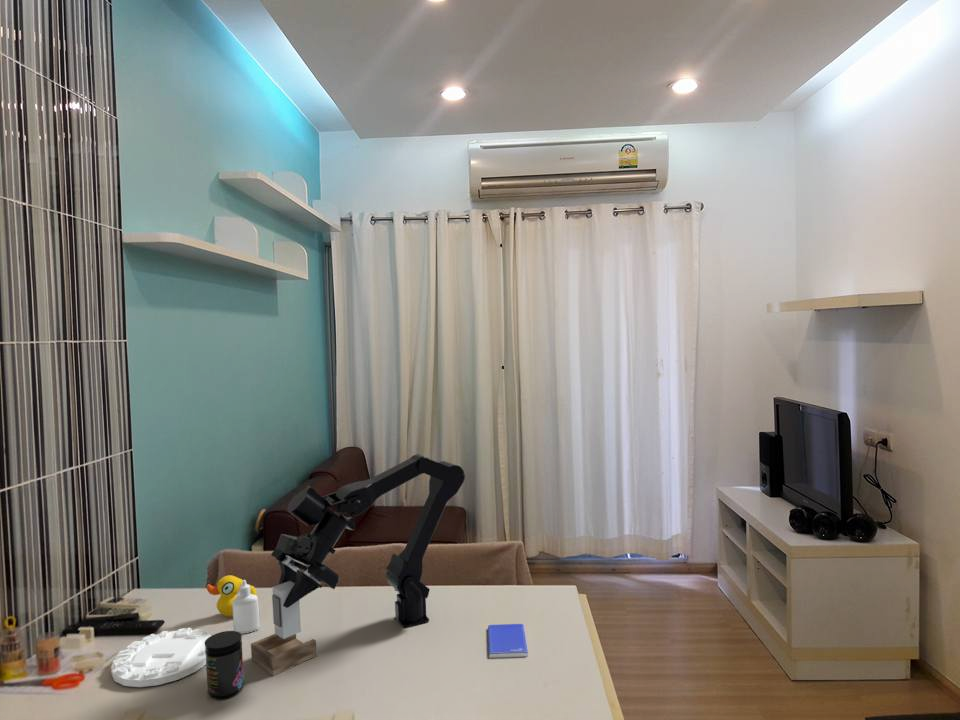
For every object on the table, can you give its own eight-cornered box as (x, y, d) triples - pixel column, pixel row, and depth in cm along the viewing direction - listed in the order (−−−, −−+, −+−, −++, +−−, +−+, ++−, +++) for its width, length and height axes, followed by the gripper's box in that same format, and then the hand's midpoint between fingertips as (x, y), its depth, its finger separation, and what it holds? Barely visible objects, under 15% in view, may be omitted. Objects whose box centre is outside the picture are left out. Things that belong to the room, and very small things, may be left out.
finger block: (292, 626, 134) (289, 580, 133) (300, 631, 131) (298, 585, 131) (273, 634, 130) (270, 587, 130) (281, 639, 128) (279, 592, 127)
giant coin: (162, 699, 122) (161, 684, 121) (89, 681, 128) (88, 667, 128) (235, 647, 140) (234, 634, 140) (168, 633, 147) (167, 621, 147)
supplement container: (231, 702, 119) (228, 649, 118) (199, 699, 120) (196, 647, 119) (251, 682, 125) (248, 631, 125) (220, 679, 127) (217, 629, 126)
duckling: (208, 625, 150) (206, 584, 150) (208, 615, 155) (206, 576, 155) (258, 614, 155) (256, 575, 154) (256, 605, 160) (254, 567, 159)
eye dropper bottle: (252, 635, 144) (249, 585, 144) (230, 634, 145) (227, 583, 145) (262, 626, 149) (260, 577, 148) (241, 625, 150) (238, 576, 149)
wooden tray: (294, 641, 141) (293, 626, 141) (316, 656, 134) (315, 640, 134) (251, 659, 134) (250, 643, 134) (273, 676, 127) (272, 659, 127)
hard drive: (528, 651, 132) (523, 623, 144) (489, 652, 132) (487, 624, 144) (528, 658, 132) (523, 629, 144) (489, 660, 132) (488, 631, 144)
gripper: (276, 510, 139) (231, 574, 131) (323, 527, 126) (276, 599, 119) (309, 535, 145) (268, 598, 138) (357, 554, 132) (314, 624, 125)
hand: (280, 604), depth 130 cm, fingers closed on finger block, 3 cm apart
